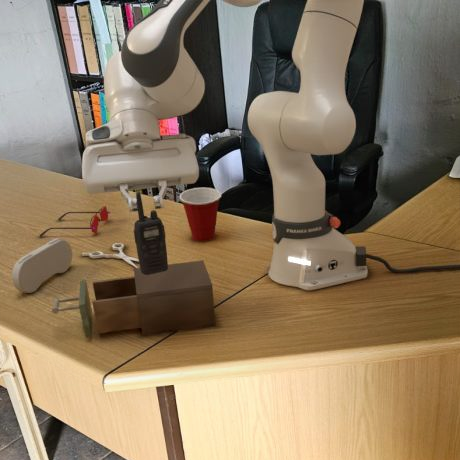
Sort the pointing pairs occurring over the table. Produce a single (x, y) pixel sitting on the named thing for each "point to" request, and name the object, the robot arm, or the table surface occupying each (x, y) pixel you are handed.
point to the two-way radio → (150, 241)
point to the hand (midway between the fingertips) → (146, 208)
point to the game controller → (41, 265)
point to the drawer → (106, 305)
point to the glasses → (94, 223)
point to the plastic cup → (201, 211)
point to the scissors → (120, 255)
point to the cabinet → (175, 298)
